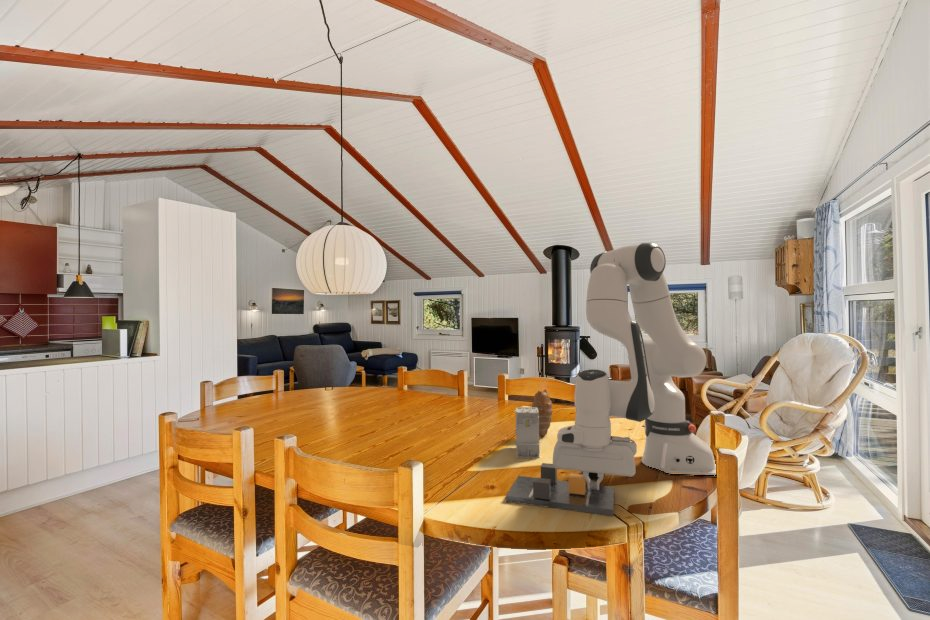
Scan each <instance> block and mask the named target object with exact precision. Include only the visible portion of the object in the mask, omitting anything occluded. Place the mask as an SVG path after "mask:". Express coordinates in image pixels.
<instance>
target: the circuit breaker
mask: <svg viewBox="0 0 930 620" xmlns="http://www.w3.org/2000/svg"><path fill="white" fill-rule="evenodd" d="M515 441H516V442H515V444H516V445H515V446H516V447H515V448H516V451H515V452H516V458H517V459H540V451H541V450H540V448H541V447H540V436H539V411H538V408H537V407H532V406H531V407H530V406H528V407H527V406H526V407H523V406H522V407H521V406H519V407H518V406H517V407H515Z"/></svg>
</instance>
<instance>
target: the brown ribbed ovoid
mask: <svg viewBox="0 0 930 620" xmlns="http://www.w3.org/2000/svg"><path fill="white" fill-rule="evenodd" d="M547 392H548V391H547V388H544V390H541V391H540V390H538V391H537V392H536V393H535V394H534V396H533V401H532V403H531V407H537V408H538V411H539V437H545V436H547V434H548V431H549V428H550V427H551V423H552V416H553V410H552V408H553V401H552V400H551V397H550V396H549V393H547Z"/></svg>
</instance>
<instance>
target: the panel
mask: <svg viewBox="0 0 930 620" xmlns="http://www.w3.org/2000/svg"><path fill="white" fill-rule="evenodd" d="M534 479H535V477H532V476H525V475H524V476H523V475H518V476H517V477H516V479H515V480H514V482H513V484H512V485H511V487H510V489H509V491H508V492H507V493H506V495H505V500H506V502H509V503H516V504H521V505H528V506H529V505H530V506H535V507H544V508H552V509H560V510H565V511H566V510H567V511H574V512H581V513H589V514H593V515H594V514H596V515H601V516H609V517H610V516H611V517H614V507H613V505H614V503H615V502H614V501H615V487H614V486H608V485H600V484H599V490H593V489H588V485H587V483H586V492H585V495H581V494H573V493H569V481H567V480H566V481H565V480H558V479H557V480H556V483H552V482H551V496H550V499H549V500H548V499H540V498H533V481H534Z"/></svg>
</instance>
